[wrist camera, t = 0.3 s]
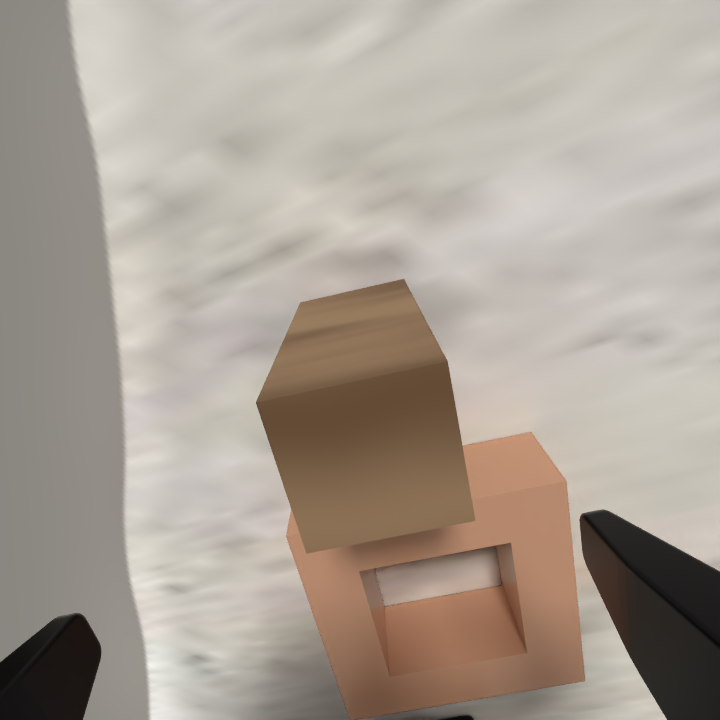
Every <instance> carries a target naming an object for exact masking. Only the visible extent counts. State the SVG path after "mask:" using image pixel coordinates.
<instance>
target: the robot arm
mask: <svg viewBox="0 0 720 720" xmlns="http://www.w3.org/2000/svg"><path fill="white" fill-rule="evenodd" d="M580 530H581V541H582V551H583V556H584V560H585V563H586V565H587V568H588V570H589V572H590V574H591V576H592V578H593V580H594V582H595V584H596V587H597V589H598V591H599V593H600V595H601V597H602V599H603V601H604V604H605V606H606V608H607V610H608V612H609V614H610V616H611V618H612V620H613V623H614V625H615V627H616V629H617V631H618V633H619V635H620V637H621V640H622V642H623V644H624V646H625V648H626V650H627V652H628V654H629V656H630V658H631V659H632V661H633V663H634V665H635V666H636V668H637V670H638V672H639V674H640V675H641V677H642V679H643V680H644V682H645V684H646V685H647V687H648V689H649V690H650V692H651V694H652V695H653V697H654V698H655V700H656V702H657V703H658V705H659V707H660V708H661V710H662V712H663V713H664V715H665V717H666V718H667V720H720V571H718V570H716V569H715V568H713V567H711V566H709V565H707V564H705V563H703V562H702V561H700V560H698V559H696V558H694V557H692V556H691V555H689V554H687V553H685V552H683V551H681V550H680V549H678V548H676V547H674V546H672V545H670V544H668V543H667V542H665V541H663V540H661V539H659V538H657V537H656V536H654V535H652V534H650V533H648V532H646V531H645V530H643V529H641V528H639V527H637V526H635V525H633V524H632V523H630V522H628V521H626V520H624V519H622V518H621V517H619V516H617V515H615V514H613V513H611V512H610V511H607V510H597V511H592V512H587V513H583V514H582V515H581V516H580ZM100 659H101V646H100V643H99V641H98V639H97V637H96V636H95V634H94V632H93V630H92V628H91V627H90V625H89V623H88V621H87V620H86V618H85V617H84V616H83V615H82V614H80V613H74V614H69V615H64V616H59V617H57V618H55V619H53V620H52V621H51V622H49V623H48V624H47V625H46V626H45V627H44V628H42V629H41V630H40V631H39V632H37V633H36V634H35V635H34V636H32V637H31V638H30V639H29V640H27V641H26V642H25V643H24V644H22V645H21V646H20V647H19V648H17V649H16V650H15V651H14V652H12V653H11V654H10V655H9V656H8V657H6V658H5V659H4V660H3V661H1V662H0V720H83V717H84V714H85V710H86V707H87V704H88V700H89V697H90V693H91V690H92V686H93V683H94V680H95V677H96V673H97V670H98V666H99V662H100ZM446 720H474V719H473V718H472V717H469V716H464V717H458V718H452V719H446Z"/></svg>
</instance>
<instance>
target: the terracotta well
mask: <svg viewBox="0 0 720 720" xmlns="http://www.w3.org/2000/svg"><path fill="white" fill-rule="evenodd" d="M463 452H464V458H465V463H466V469H467V475H468V481H469V486H470V492H471V498H472V503H473V509H474V515H475V520H476V521H473V522H468V523H462V524H457V525H452V526H447V527H442V528H437V529H431V530H426V531H421V532H416V533H411V534H406V535H400V536H395V537H390V538H385V539H380V540H375V541H369V542H364V543H359V544H354V545H349V546H344V547H338V548H333V549H328V550H323V551H318V552H313V553H307V554H306V551H305V548H304V545H303V542H302V539H301V536H300V533H299V530H298V527H297V524H296V521H295V518H294V515H293V512H292V509H291V514H290V519H289V524H288V529H287V534H286V537H287V540H288V543H289V546H290V549H291V551H292V554H293V557H294V560H295V563H296V566H297V569H298V572H299V574H300V577H301V580H302V583H303V586H304V589H305V592H306V595H307V597H308V600H309V603H310V606H311V609H312V612H313V615H314V618H315V621H316V623H317V626H318V629H319V632H320V635H321V638H322V641H323V644H324V646H325V649H326V652H327V655H328V658H329V661H330V664H331V667H332V670H333V672H334V675H335V678H336V681H337V684H338V687H339V690H340V693H341V695H342V698H343V701H344V704H345V707H346V710H347V713H348V716H349V718H350V720H357V719H363V718H369V717H375V716H381V715H387V714H393V713H399V712H405V711H411V710H417V709H422V708H428V707H434V706H440V705H446V704H452V703H458V702H464V701H470V700H476V699H482V698H488V697H494V696H499V695H505V694H511V693H517V692H523V691H529V690H535V689H541V688H547V687H553V686H559V685H565V684H571V683H577V682H582V681H585V675H584V664H583V654H582V643H581V632H580V621H579V611H578V600H577V589H576V578H575V568H574V557H573V546H572V535H571V525H570V514H569V503H568V492H567V482H566V480H565V478H564V477H563V476H562V474H561V473H560V471H559V470H558V469H557V467H556V466H555V464H554V463H553V462H552V460H551V459H550V457H549V456H548V455H547V453H546V452H545V450H544V449H543V448H542V446H541V445H540V443H539V442H538V441H537V439H536V438H535V436H534V435H533V434H532V432H529V433H524V434H520V435H515V436H510V437H505V438H500V439H495V440H490V441H485V442H480V443H475V444H470V445H466V446H463ZM490 546H496V550H497V556H498V563H499V569H500V575H501V581H502V585H501V586H495V587H490V588H484V589H479V590H474V591H468V592H463V593H457V594H452V595H446V596H441V597H435V598H430V599H425V600H419V601H414V602H408V603H403V604H397V605H392V606H386V607H384V603H383V599H382V596H381V592H380V588H379V585H378V581H377V578H376V574H375V570H374V568H380V567H385V566H390V565H395V564H401V563H406V562H411V561H416V560H422V559H427V558H432V557H438V556H443V555H448V554H453V553H459V552H464V551H469V550H475V549H480V548H485V547H490Z"/></svg>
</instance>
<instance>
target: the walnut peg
mask: <svg viewBox="0 0 720 720" xmlns="http://www.w3.org/2000/svg"><path fill="white" fill-rule="evenodd" d="M256 404H257V407H258V410H259V413H260V416H261V419H262V422H263V425H264V428H265V431H266V434H267V437H268V440H269V443H270V446H271V449H272V452H273V455H274V458H275V461H276V464H277V467H278V470H279V473H280V476H281V479H282V482H283V485H284V488H285V491H286V494H287V497H288V500H289V503H290V506H291V509H292V512H293V515H294V518H295V521H296V524H297V527H298V530H299V533H300V536H301V539H302V542H303V545H304V548H305V551H306V554H307V553H313V552H318V551H323V550H328V549H333V548H338V547H344V546H349V545H354V544H359V543H364V542H369V541H375V540H380V539H385V538H390V537H395V536H400V535H406V534H411V533H416V532H421V531H426V530H431V529H437V528H442V527H447V526H452V525H457V524H462V523H468V522H473V521H476V520H475V515H474V509H473V503H472V498H471V492H470V486H469V481H468V475H467V469H466V463H465V458H464V452H463V446H462V441H461V435H460V429H459V424H458V418H457V412H456V407H455V401H454V395H453V390H452V384H451V378H450V373H449V367H448V361H447V359H446V357H445V356H444V354H443V352H442V350H441V348H440V346H439V344H438V342H437V341H436V339H435V337H434V335H433V333H432V331H431V329H430V327H429V325H428V324H427V322H426V320H425V318H424V316H423V314H422V312H421V310H420V309H419V307H418V305H417V303H416V301H415V299H414V297H413V295H412V293H411V292H410V290H409V288H408V286H407V284H406V282H405V280H404V279H402V280H397V281H393V282H389V283H384V284H380V285H375V286H371V287H367V288H362V289H358V290H354V291H349V292H345V293H340V294H336V295H332V296H327V297H323V298H319V299H314V300H310V301H305V302H301V303H300V305H299V307H298V309H297V312H296V314H295V316H294V318H293V321H292V323H291V325H290V327H289V330H288V332H287V334H286V336H285V339H284V341H283V343H282V345H281V347H280V350H279V352H278V354H277V356H276V359H275V361H274V363H273V365H272V368H271V370H270V372H269V374H268V377H267V379H266V381H265V383H264V386H263V388H262V390H261V392H260V395H259V397H258V399H257V401H256Z"/></svg>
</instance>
